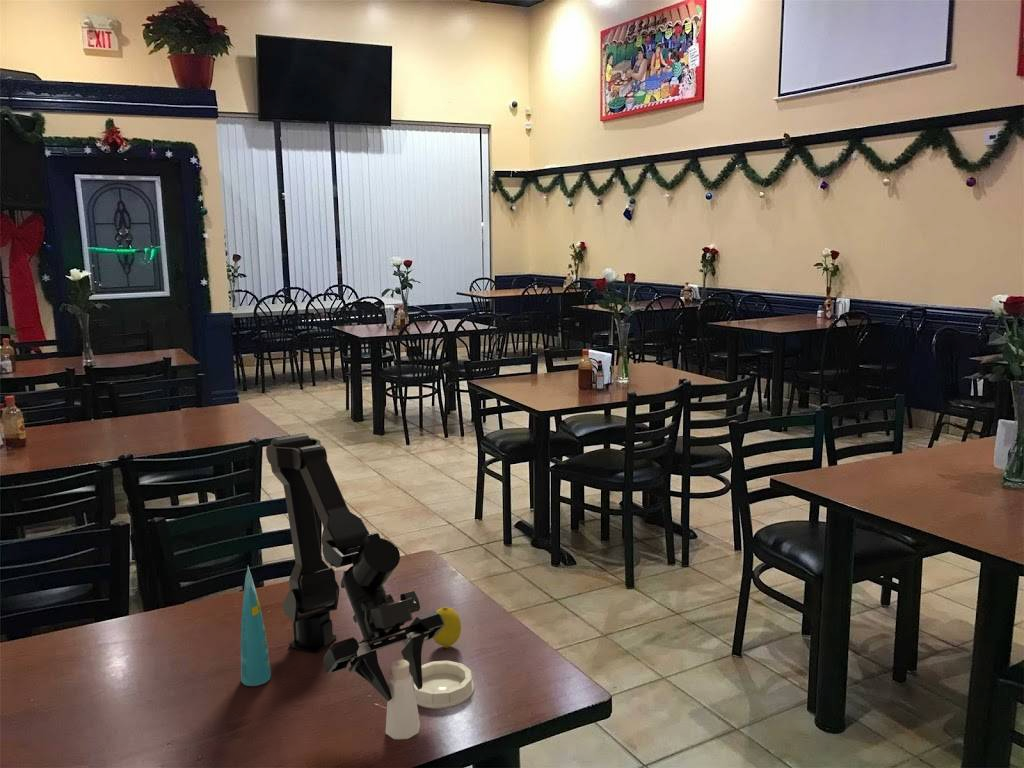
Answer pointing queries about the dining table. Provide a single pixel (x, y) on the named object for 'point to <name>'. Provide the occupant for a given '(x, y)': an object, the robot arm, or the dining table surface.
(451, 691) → the ring dish
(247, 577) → the tube
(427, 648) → the dining table surface
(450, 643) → the lemon
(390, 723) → the pepper shaker
